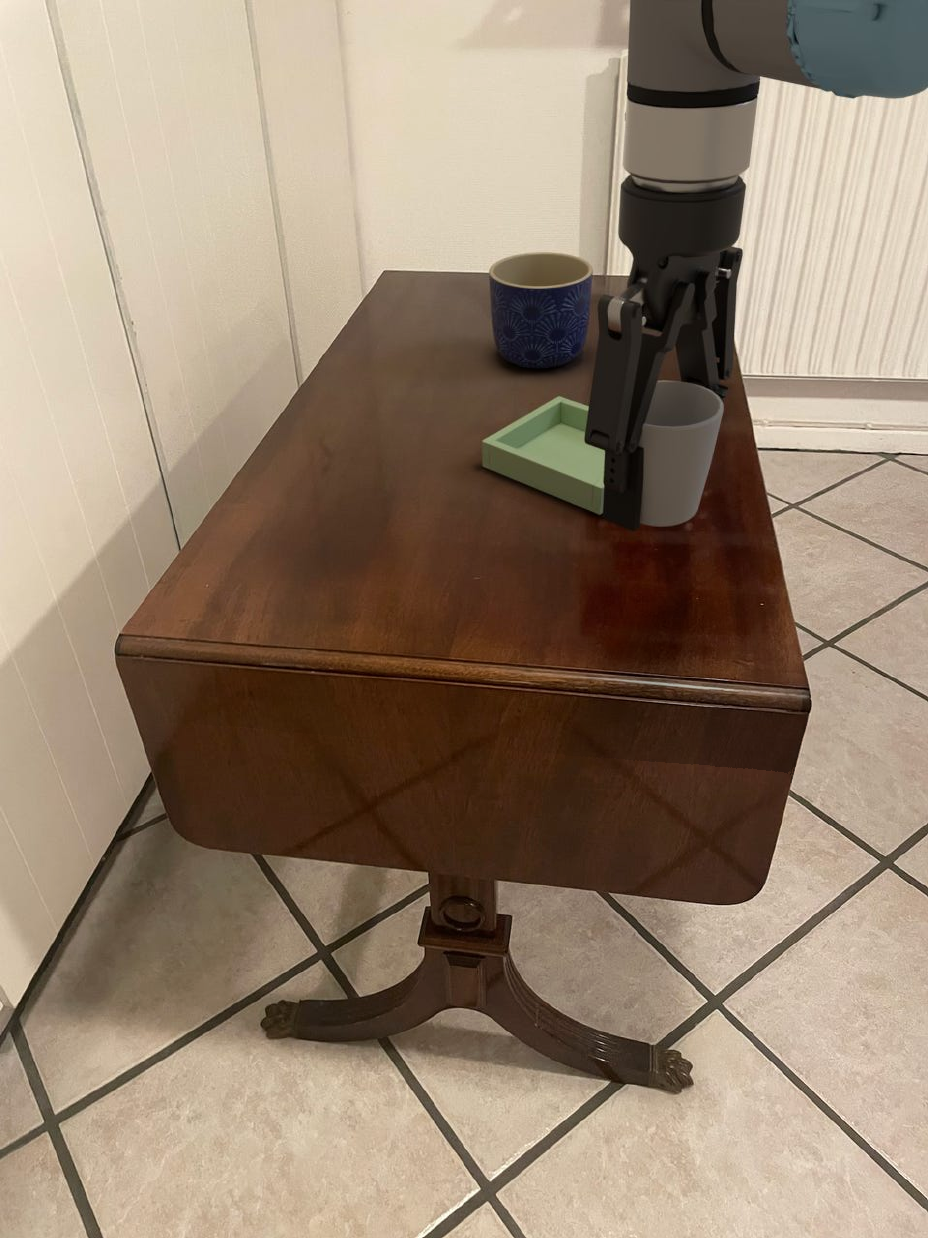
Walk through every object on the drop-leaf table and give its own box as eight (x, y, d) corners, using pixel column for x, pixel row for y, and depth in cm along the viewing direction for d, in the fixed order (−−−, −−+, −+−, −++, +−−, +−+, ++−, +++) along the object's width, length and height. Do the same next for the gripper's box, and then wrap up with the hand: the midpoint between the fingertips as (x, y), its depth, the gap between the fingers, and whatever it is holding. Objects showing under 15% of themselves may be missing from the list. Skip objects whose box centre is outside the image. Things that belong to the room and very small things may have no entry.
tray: (673, 461, 99) (676, 435, 97) (600, 515, 91) (601, 488, 89) (558, 420, 107) (558, 395, 105) (482, 466, 99) (481, 440, 97)
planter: (479, 371, 117) (476, 283, 111) (504, 332, 127) (503, 249, 120) (578, 380, 114) (581, 290, 107) (597, 340, 123) (601, 254, 117)
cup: (609, 536, 68) (615, 428, 63) (603, 467, 76) (608, 366, 71) (717, 535, 68) (732, 427, 63) (699, 466, 76) (711, 364, 70)
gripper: (717, 134, 66) (684, 432, 80) (527, 206, 54) (528, 541, 68) (820, 147, 62) (766, 459, 76) (639, 228, 50) (615, 580, 64)
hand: (653, 498), depth 72 cm, fingers closed on cup, 8 cm apart
